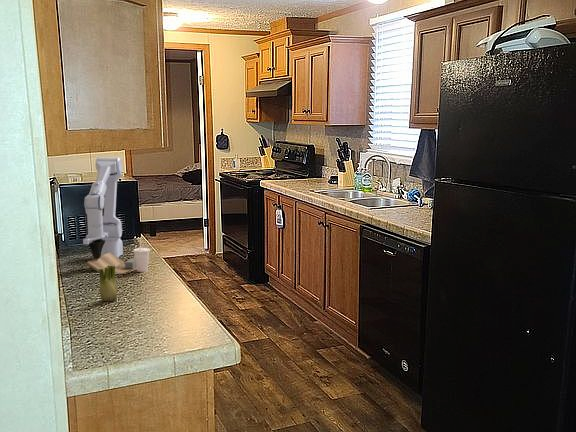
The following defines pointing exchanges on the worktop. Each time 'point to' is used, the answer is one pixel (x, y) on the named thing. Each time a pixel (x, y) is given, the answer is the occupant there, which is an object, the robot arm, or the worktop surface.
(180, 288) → the worktop surface
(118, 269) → the laid strip
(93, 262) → the board
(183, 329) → the worktop surface
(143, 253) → the smoothie
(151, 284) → the worktop surface
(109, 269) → the fennel bulb
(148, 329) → the worktop surface
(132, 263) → the block
